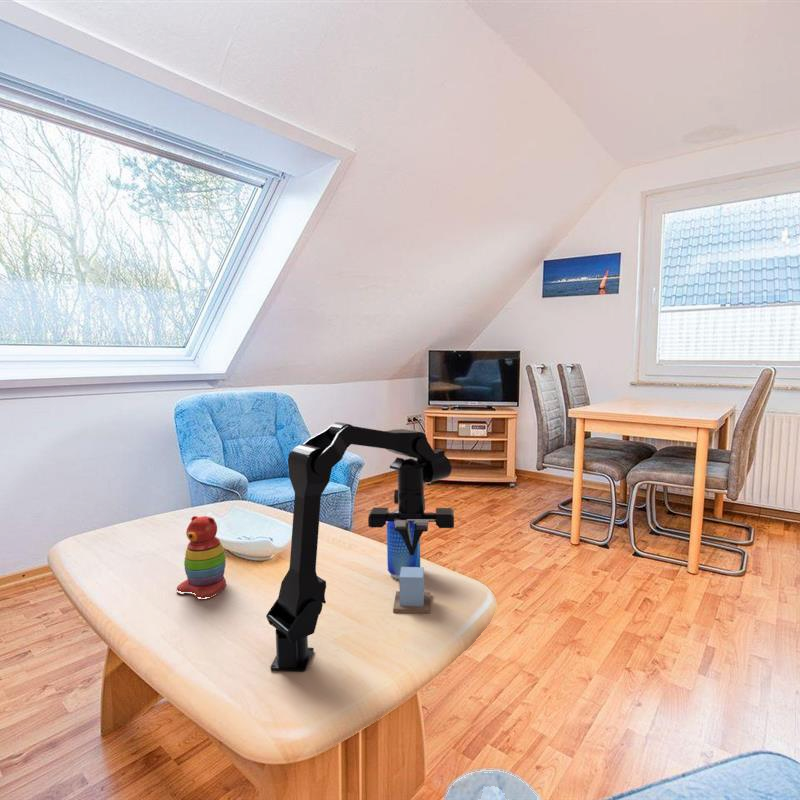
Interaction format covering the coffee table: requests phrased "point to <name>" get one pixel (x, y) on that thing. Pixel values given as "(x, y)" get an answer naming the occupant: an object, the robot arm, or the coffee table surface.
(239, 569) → the coffee table surface
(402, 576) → the pale blue foam brick
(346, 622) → the coffee table surface
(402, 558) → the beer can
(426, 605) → the brown square stand
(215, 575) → the stacking bear
